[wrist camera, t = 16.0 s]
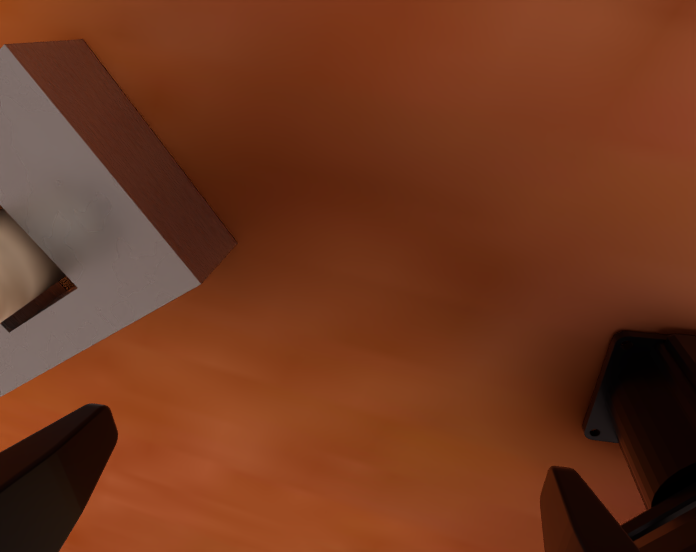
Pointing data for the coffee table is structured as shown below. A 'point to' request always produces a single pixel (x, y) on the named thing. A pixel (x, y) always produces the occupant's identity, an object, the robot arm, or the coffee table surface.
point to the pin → (22, 268)
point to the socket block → (91, 206)
